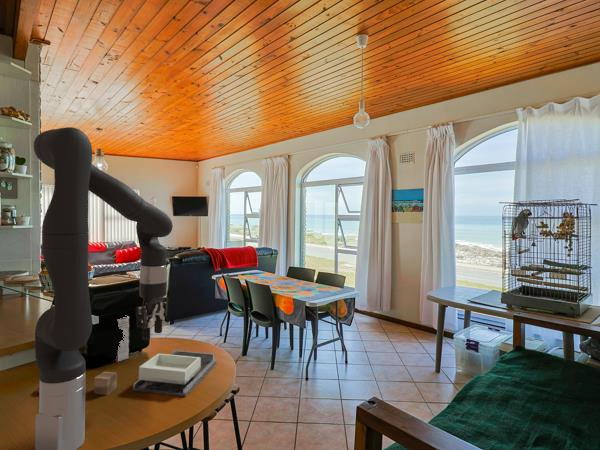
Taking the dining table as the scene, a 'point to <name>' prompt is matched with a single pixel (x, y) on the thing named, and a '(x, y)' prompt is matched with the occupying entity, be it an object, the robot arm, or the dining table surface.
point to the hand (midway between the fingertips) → (152, 336)
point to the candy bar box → (124, 345)
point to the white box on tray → (170, 369)
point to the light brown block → (105, 383)
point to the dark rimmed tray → (173, 388)
